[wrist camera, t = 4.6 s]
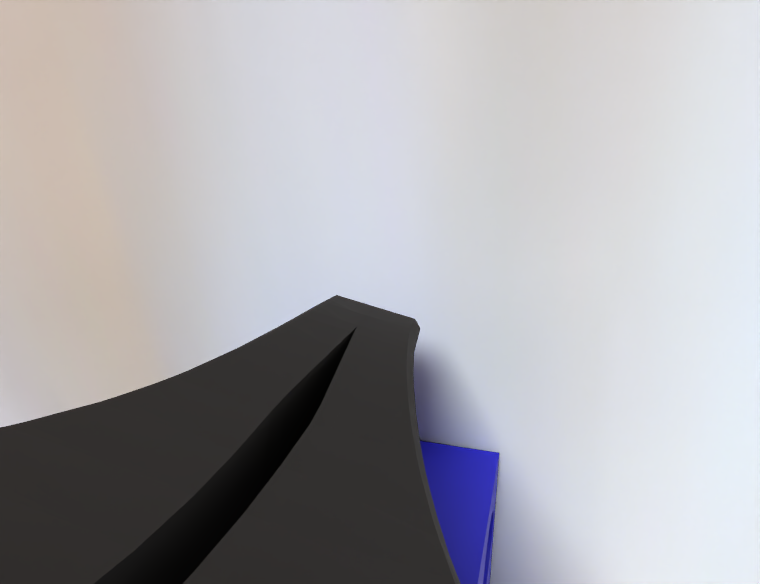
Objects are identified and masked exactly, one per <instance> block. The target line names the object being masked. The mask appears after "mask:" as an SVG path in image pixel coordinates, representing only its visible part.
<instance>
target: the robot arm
mask: <svg viewBox="0 0 760 584" xmlns="http://www.w3.org/2000/svg"><path fill="white" fill-rule="evenodd" d="M419 331H420V327H419V325H418V323H417V322H416V320H415V319H413V318H410V317H407V316H403V315H400V314H397V313H393V312H390V311H387V310H384V309H380V308H377V307H374V306H370V305H367V304H364V303H361V302H357V301H354V300H351V299H347V298H344V297H341V296H338V295H336V296H334V297H332V298H330V299H328V300H326V301H324V302H322V303H320V304H319V305H317V306H315V307H313V308H311V309H310V310H308V311H306V312H304V313H302V314H301V315H299V316H297V317H295V318H294V319H292V320H290V321H288V322H286V323H285V324H283V325H281V326H279V327H277V328H275V329H274V330H272V331H270V332H268V333H266V334H264V335H262V336H260V337H258V338H256V339H254V340H252V341H250V342H249V343H247V344H245V345H243V346H241V347H239V348H237V349H235V350H233V351H230V352H228V353H226V354H224V355H222V356H219V357H217V358H215V359H213V360H211V361H208V362H206V363H204V364H202V365H200V366H197V367H195V368H193V369H191V370H189V371H186V372H184V373H181V374H179V375H176V376H174V377H171V378H168V379H166V380H163V381H160V382H158V383H155V384H153V385H150V386H147V387H144V388H141V389H138V390H135V391H132V392H129V393H126V394H123V395H120V396H117V397H114V398H111V399H108V400H105V401H101V402H98V403H94V404H91V405H87V406H83V407H79V408H76V409H72V410H68V411H64V412H61V413H57V414H53V415H49V416H46V417H42V418H38V419H34V420H31V421H27V422H23V423H19V424H15V425H10V426H6V427H1V428H0V584H461V583H460V581H459V578H458V576H457V573H456V571H455V568H454V565H453V563H452V560H451V558H450V555H449V552H448V549H447V546H446V543H445V539H444V536H443V533H442V530H441V527H440V524H439V520H438V517H437V514H436V510H435V506H434V503H433V499H432V495H431V491H430V488H429V483H428V479H427V475H426V470H425V465H424V461H423V456H422V450H421V444H420V438H419V433H418V425H417V418H416V408H415V395H414V380H413V365H414V351H415V347H416V343H417V339H418V335H419Z"/></svg>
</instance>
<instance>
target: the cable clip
mask: <svg viewBox="0 0 760 584" xmlns="http://www.w3.org/2000/svg"><path fill="white" fill-rule="evenodd" d="M420 444H421V450H422V456H423V461H424V465H425V470H426V475H427V479H428V483H429V488H430V491H431V495H432V499H433V503H434V506H435V510H436V514H437V517H438V520H439V524H440V527H441V530H442V533H443V536H444V539H445V543H446V546H447V549H448V552H449V555H450V558H451V560H452V563H453V565H454V568H455V571H456V573H457V576H458V578H459V581H460V583H461V584H490V573H491V559H492V545H493V531H494V517H495V504H496V490H497V476H498V462H499V453H496V452H490V451H483V450H476V449H470V448H463V447H457V446H450V445H444V444H437V443H431V442H424V441H420Z"/></svg>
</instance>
